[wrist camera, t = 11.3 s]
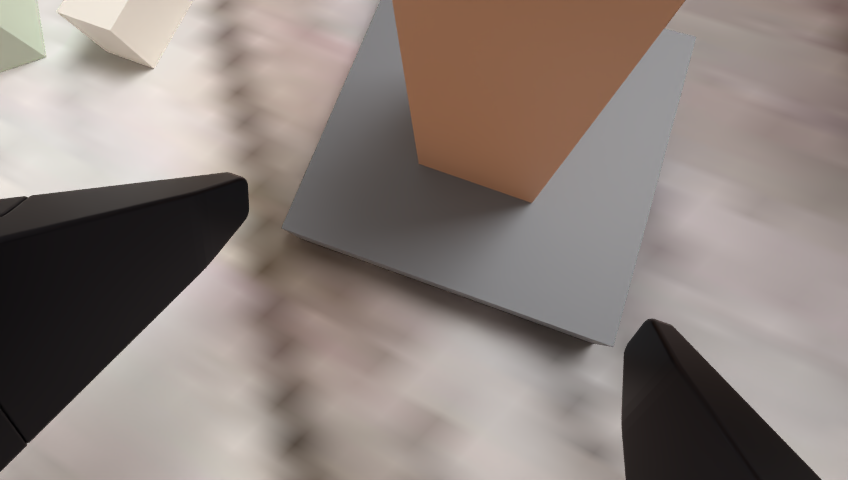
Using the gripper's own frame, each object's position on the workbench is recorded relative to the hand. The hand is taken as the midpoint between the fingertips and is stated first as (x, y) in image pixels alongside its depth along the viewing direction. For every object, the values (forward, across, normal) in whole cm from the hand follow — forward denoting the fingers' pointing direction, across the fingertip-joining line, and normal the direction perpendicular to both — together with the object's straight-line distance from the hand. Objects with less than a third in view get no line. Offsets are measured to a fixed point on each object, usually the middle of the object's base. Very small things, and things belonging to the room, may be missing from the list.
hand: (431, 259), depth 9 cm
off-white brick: (+13, +19, 0) cm, 23 cm away
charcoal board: (+12, 0, +2) cm, 12 cm away
